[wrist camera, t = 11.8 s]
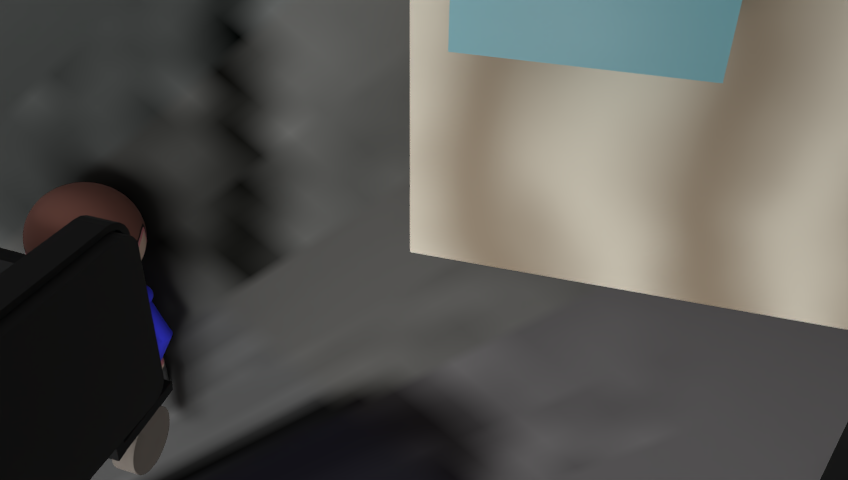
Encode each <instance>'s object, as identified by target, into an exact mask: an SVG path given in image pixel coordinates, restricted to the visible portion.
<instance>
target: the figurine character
mask: <svg viewBox="0 0 848 480" xmlns="http://www.w3.org/2000/svg"><path fill="white" fill-rule="evenodd" d="M83 215H89V216H93V217H97V218H102V219H106V220H111V221H115V222H120V223H122V224H124V225H125V226H126V227H127V228H128V229H129V232H130V235H131V236H133V237H134V238H135V239H136V240H137V243H138V246H139V251H140V256H141V261H142V258H143V256H144V253H145V250H146V243H147V232H146V226H145V223H144V220H143V218H142V215H141V213H140V212H139V210H138V209H137V207H136V206H135V205H134V203H133V202H132V201H131V200H130V199H129V198H127V197H126V196H125V195H124V194H122V193H121V192H119V191H117V190H116V189H114V188H111V187H109V186H106V185H103V184H98V183H93V182H76V183H70V184H66V185H63V186H60V187H57V188H55V189H53V190H51V191H50V192H48V193H47V194H45V195H44V196H43V197H41V198H40V199H39V200H38V201H37V202H36V204H35V205H34V206H33V207H32V209H31V211H30V212H29V214H28V216H27V219H26V221H25V225H24V230H23V244H24V249H25V253H26V254H27V253H29V252H30V251H32V250H33V249H34V248H36V247H37V246H38V245H40V244H41V243H42V242H44V241H45V240H46V239H48V238H49V237H51V236H52V235H53V234H55V233H56V232H57V231H59V230H60V229H61V228H63V227H64V226H65V225H67V224H68V223H70V222H71V221H72V220H74V219H75V218H77V217H79V216H83ZM23 256H25V254H22V253H18V252H14V251H10V250H7V249H3V248H0V273H2V272H3V271H4V270H6V269H7V268H8V267H10V266H11V265H13V264H14V263H15V262H17V261H18V260H19V259H21V258H22V257H23ZM146 287H147V292H148V297H149V302H150V308H151V313H152V318H153V323H154V328H155V334H156V339H157V344H158V349H159V354H160V359H161V365H162V370H163V375H164V383H163V388H162V392H161V394H160V396H159V398H158V400H157V401H156V403H155V404H154V405H153V406H152V407H151V409H150V410H149V411H148V412H147V413H146V414H145V416H144V417H143V418H142V419H141V420H140V421H139V423H138V424H137V425H136V426H135V427H134V428H133V430H132V431H131V432H130V433H129V434H128V435H127V437H126V438H125V439H124V440H123V441H122V442H121V444H120V445H119V446H118V447H117V448H116V450H115V451H114V452H113V453H112V454H111V455H110V457H109V458H110V459H112V461H113V464H114V466H115V467H116V468H119V469H122V470H125V471H128V472H132V473H135V474H138V475H144V474H146V473H147V472H148V471H150V470H151V469H152V467H153V466H154V465H155V463H156V462H157V460H158V459H159V457H160V455H161V453H162V451H163V448H164V446H165V443H166V439H167V436H168V431H169V413H168V410H167V409H166V408H165V407H163V406H161V404H162V403H163V402H164V400H165V399H166V398H167V397H168V395H169V394H170V393H171V391H172V390H173V388H172V381H169V377H168V373H167V369H166V365H165V361H164V357H163V355H164V353H165V351H166V349H167V346H168V344H169V342H170V340H171V337H172V335H173V332H172V330H171V329H170V328H169V326H168V325H167V323H166V322H165V320H164V319H163V317H162V316H161V314H160V313H159V311H158V310H157V308H156V307H155V305H154V304H153V302H152V299H153V291H152V289H151V288H150V287H149V286H147V285H146Z"/></svg>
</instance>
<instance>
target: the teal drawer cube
mask: <svg viewBox="0 0 848 480" xmlns="http://www.w3.org/2000/svg"><path fill="white" fill-rule="evenodd" d="M741 4H742V0H450V5H449V39H448V52H455V53H463V54H472V55H481V56H489V57H498V58H507V59H515V60H524V61H533V62H541V63H550V64H559V65H567V66H576V67H585V68H593V69H602V70H611V71H619V72H628V73H637V74H645V75H654V76H663V77H671V78H680V79H689V80H697V81H706V82H715V83H723V80H724V76H725V72H726V67H727V63H728V59H729V55H730V50H731V46H732V42H733V38H734V33H735V29H736V25H737V21H738V16H739V12H740V8H741Z"/></svg>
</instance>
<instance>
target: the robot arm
mask: <svg viewBox="0 0 848 480" xmlns="http://www.w3.org/2000/svg"><path fill="white" fill-rule="evenodd" d="M163 383H164V375H163V370H162V365H161V359H160V354H159V349H158V344H157V339H156V334H155V328H154V323H153V318H152V313H151V308H150V302H149V297H148V292H147V287H146V282H145V277H144V271H143V266H142V261H141V256H140V251H139V246H138V243H137V240H136V239H135V238H134V237H133V236H131V235H130V232H129V229H128V228H127V227H126V226H125V225H124V224H122V223H120V222H115V221H111V220H106V219H102V218H97V217H93V216H89V215H83V216H79V217H77V218H75V219H74V220H72V221H71V222H70V223H68V224H67V225H65V226H64V227H63V228H61V229H60V230H59V231H57V232H56V233H55V234H53V235H52V236H51V237H49V238H48V239H46V240H45V241H44V242H42V243H41V244H40V245H38V246H37V247H36V248H34V249H33V250H32V251H30V252H29V253H27V254H26V255H25V256H23V257H22V258H21V259H19V260H18V261H17V262H15V263H14V264H13V265H11V266H10V267H8V268H7V269H6V270H4V271H3V272H2V273H0V480H90V479H91V478H92V476H93V475H94V474H95V473H96V472H97V471H98V469H99V468H100V467H101V466H102V465H103V464H104V462H105V461H106V460H107V459H108V458H109V457H110V455H111V454H112V453H113V452H114V451H115V450H116V448H117V447H118V446H119V445H120V444H121V442H122V441H123V440H124V439H125V438H126V437H127V435H128V434H129V433H130V432H131V431H132V430H133V428H134V427H135V426H136V425H137V424H138V423H139V421H140V420H141V419H142V418H143V417H144V416H145V414H146V413H147V412H148V411H149V410H150V409H151V407H152V406H153V405H154V404H155V403H156V401H157V400H158V398H159V396H160V394H161V392H162V388H163ZM820 480H848V423H847V425H846V427H845V429H844V431H843V433H842V435H841V437H840V439H839V441H838V444H837V446H836V448H835V450H834V452H833V454H832V456H831V458H830V460H829V462H828V465H827V467H826V469H825V471H824V473H823V475H822V477H821V479H820Z"/></svg>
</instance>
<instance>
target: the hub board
mask: <svg viewBox="0 0 848 480" xmlns="http://www.w3.org/2000/svg"><path fill="white" fill-rule="evenodd" d="M449 5H450V0H410V252H413V253H419V254H424V255H430V256H435V257H441V258H447V259H452V260H458V261H464V262H469V263H475V264H480V265H486V266H492V267H497V268H503V269H509V270H514V271H520V272H526V273H531V274H537V275H542V276H548V277H554V278H559V279H565V280H571V281H576V282H582V283H587V284H593V285H599V286H604V287H610V288H616V289H621V290H627V291H633V292H638V293H644V294H649V295H655V296H661V297H666V298H672V299H678V300H683V301H689V302H695V303H700V304H706V305H711V306H717V307H723V308H728V309H734V310H740V311H745V312H751V313H756V314H762V315H768V316H773V317H779V318H785V319H790V320H796V321H802V322H807V323H813V324H818V325H824V326H830V327H835V328H841V329H847V330H848V0H742V4H741V8H740V12H739V16H738V21H737V25H736V29H735V33H734V38H733V42H732V46H731V50H730V55H729V59H728V63H727V67H726V72H725V76H724V80H723V83H715V82H706V81H697V80H689V79H680V78H671V77H663V76H654V75H645V74H637V73H628V72H619V71H611V70H602V69H593V68H585V67H576V66H567V65H559V64H550V63H541V62H533V61H524V60H515V59H507V58H498V57H489V56H481V55H472V54H463V53H455V52H448V39H449Z"/></svg>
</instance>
